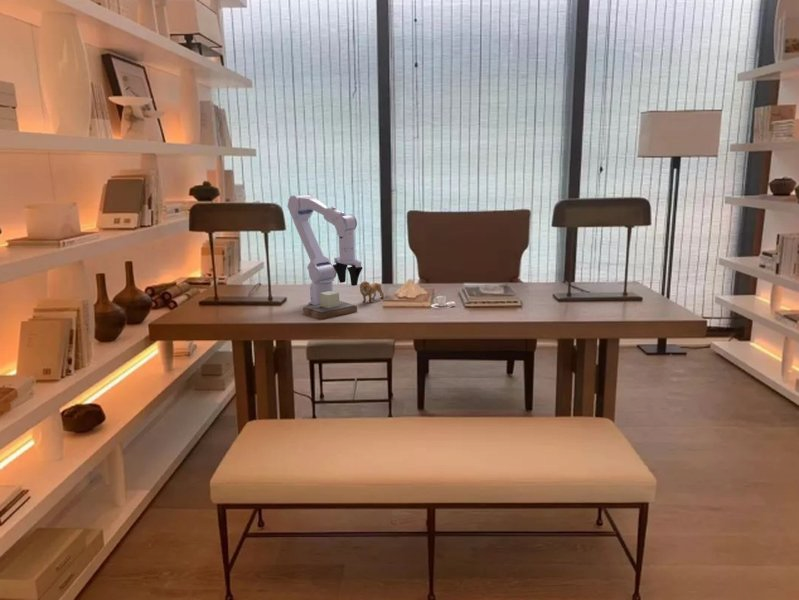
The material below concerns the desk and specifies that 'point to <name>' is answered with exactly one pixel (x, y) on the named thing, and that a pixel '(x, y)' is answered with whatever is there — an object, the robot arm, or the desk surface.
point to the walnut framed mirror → (329, 310)
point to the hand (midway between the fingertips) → (348, 283)
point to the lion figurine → (370, 290)
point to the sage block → (329, 299)
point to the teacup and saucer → (443, 302)
